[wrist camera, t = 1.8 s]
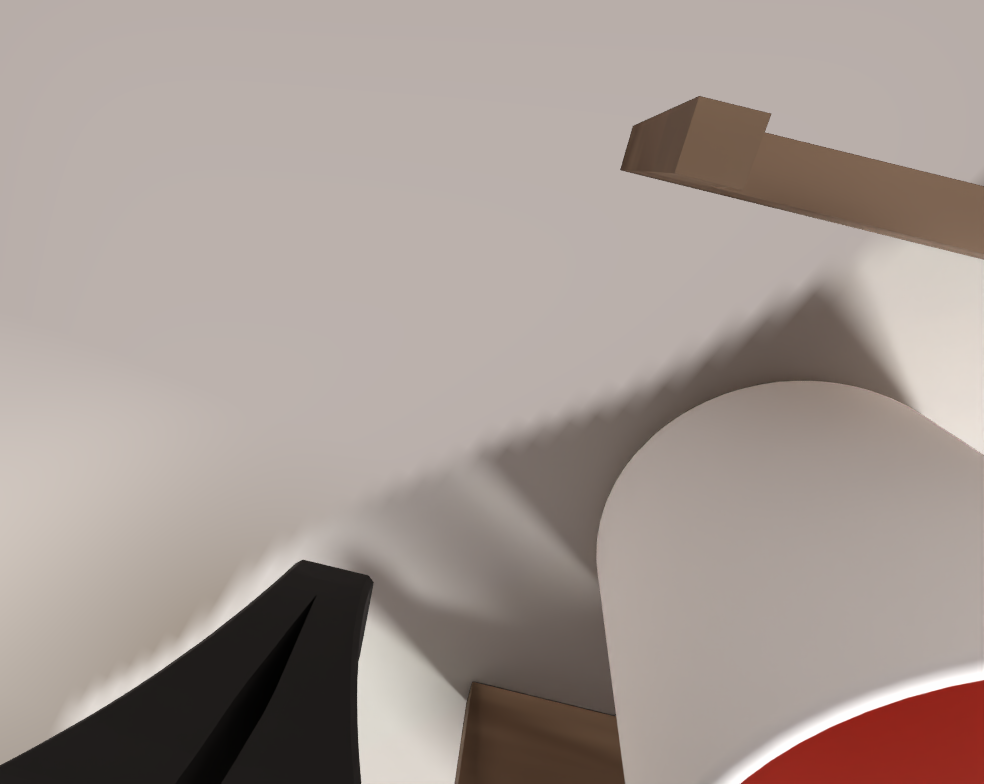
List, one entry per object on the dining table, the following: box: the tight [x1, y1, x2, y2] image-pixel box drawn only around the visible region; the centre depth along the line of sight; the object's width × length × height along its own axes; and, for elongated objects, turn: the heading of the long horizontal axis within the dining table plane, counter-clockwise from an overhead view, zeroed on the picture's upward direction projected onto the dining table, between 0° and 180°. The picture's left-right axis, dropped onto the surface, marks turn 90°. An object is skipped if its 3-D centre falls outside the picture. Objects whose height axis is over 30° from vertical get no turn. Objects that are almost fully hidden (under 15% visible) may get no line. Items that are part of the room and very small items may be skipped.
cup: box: [596, 381, 984, 784], centre depth 13 cm, size 10×10×10 cm
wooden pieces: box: [455, 96, 984, 784], centre depth 15 cm, size 19×16×6 cm
